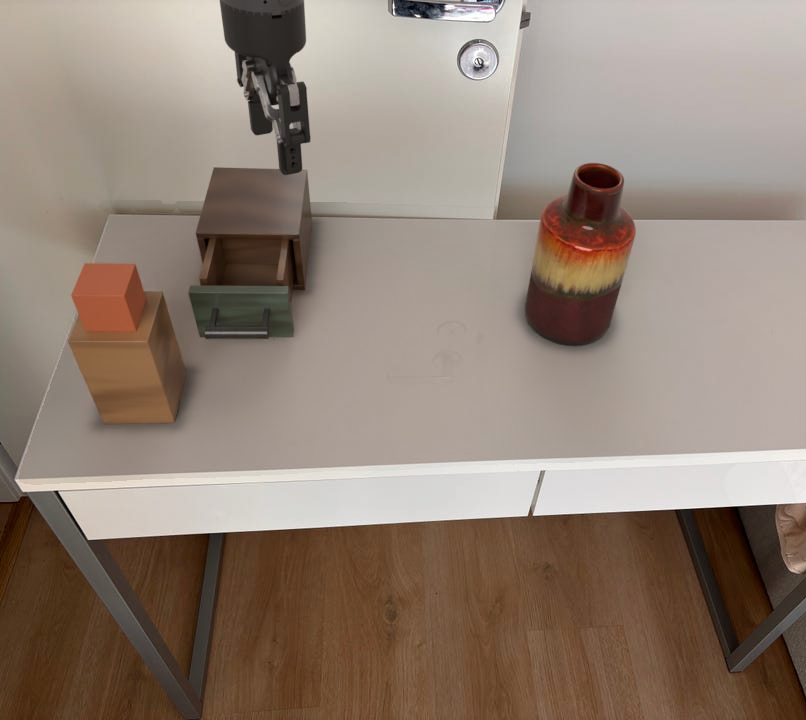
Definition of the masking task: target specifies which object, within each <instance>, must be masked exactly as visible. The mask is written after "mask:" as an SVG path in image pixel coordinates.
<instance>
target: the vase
mask: <svg viewBox="0 0 806 720" xmlns="http://www.w3.org/2000/svg"><path fill="white" fill-rule="evenodd" d="M624 185H625V178H624V176H623V174H622V173H621V171H619V170H618V169H617V168H615V167H613V166H611V165H608V164H605V163H601V162H587V163H583V164H580V165H579V166H578V167H576V168H575V169H574V172H573V174H572V177H571V181H570V185H569V188H568V191H567V194H566V195H562V196H559V197H557V198H555V199H553V200H552V201H550V202H548V204H546V206H544V208H543V210H542V212H541V215H540V220H539V224H538V230H537V235H536V236H537V237H536V242H535V248H534V253H533V258H532V264H531V270H530V276H529V281H528V287H527V294H526V300H525V306H524V315H525V320H526V322H527V323H528V326H529V327H530V328H531V329H532V330H533V332H535V333H536V334H537V335H539V336H540V337H541V338H543V339H545V340H547V341H549V342H552V343H553V344H558V345H562V346H566V347H567V346H569V347H581V346H587V345H590V344H593V343H595V342H597V341H599V340H600V339H602V338H603V337H604V336H605V335H606V333H607V332H608V330H609V328H610V325H611V323H612V322H611V321H612V319H613V315H614V312H615V309H616V304H617V301H618V298H619V294H620V291H621V287H622V284H623V281H624V278H625V277H624V276H625V273H626V270H627V266H628V263H629V259H630V256H631V253H632V249H633V246H634V242H635V238H636V234H637V233H636V232H637V228H636V223H635V220H634V219H633V217H632V216H631V214H630V213H629V212H628V211H627V210H626V209H625V208H624V207H623V206H621V202H622V198H623V197H622V196H623V191H624Z"/></svg>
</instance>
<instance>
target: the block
mask: <svg viewBox="0 0 806 720" xmlns="http://www.w3.org/2000/svg"><path fill="white" fill-rule="evenodd" d="M144 291H145V290H144V287H143V284H142V281H141V277H140V274H139V271H138V268H137V265H136V263H113V262H112V263H109V262H108V263H107V262H105V263H103V262H101V263H99V262H98V263H97V262H95V263H94V262H85V263H83V266H82V268H81V271H80V273H79V276H78V278H77V280H76V283H75V284H74V287H73V290H72V292H71V294H70V296H71V299H72V302H73V304H74V306H75V309H76V312H77V314H78V315H79V316H80V319H81V321H82V324H83V326H84V329H85V331H86V332H136V331H137V328H138V325H139V322H140V318H141V315H142V312H143V309H144V306H145V303H146V296H145V293H144Z"/></svg>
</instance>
